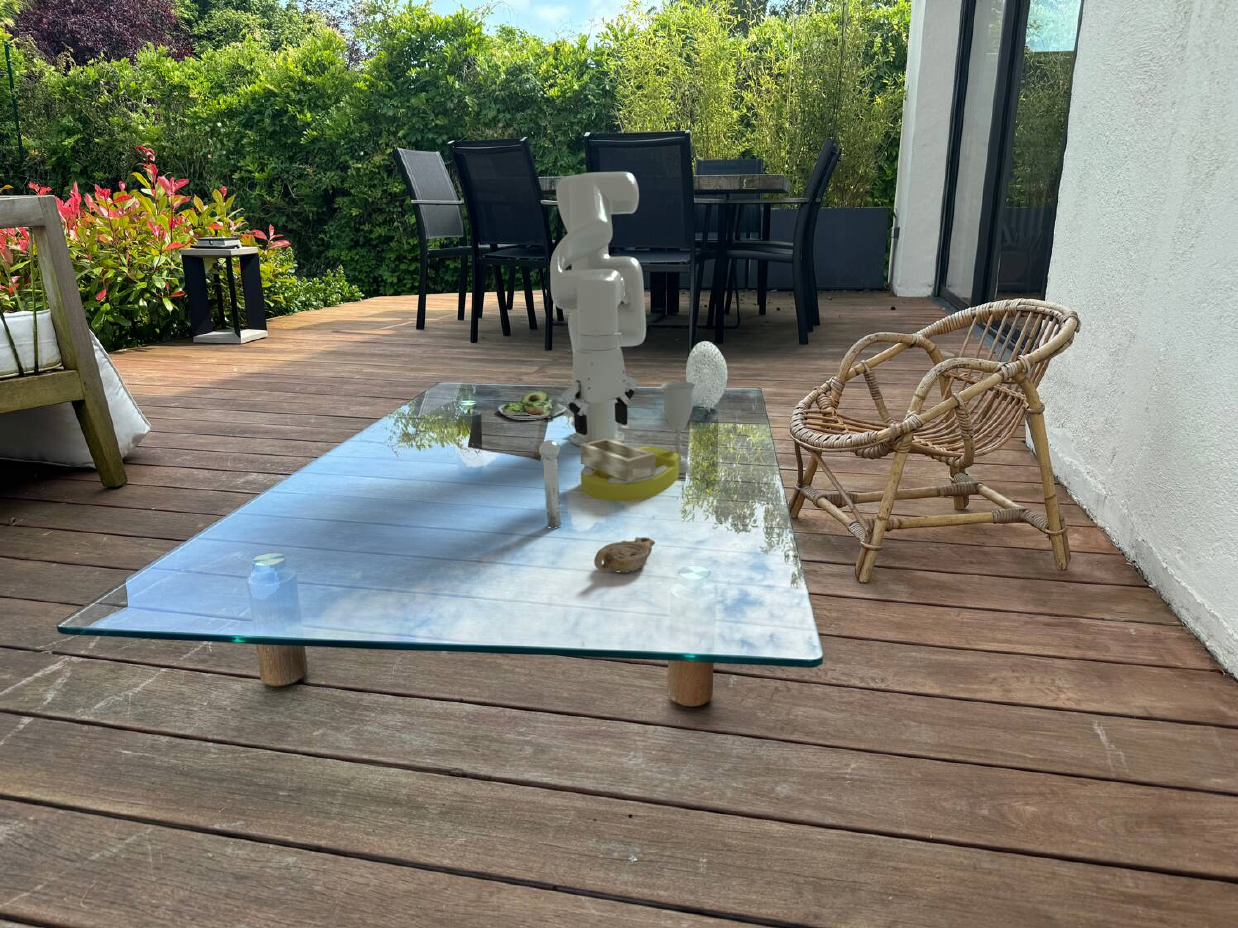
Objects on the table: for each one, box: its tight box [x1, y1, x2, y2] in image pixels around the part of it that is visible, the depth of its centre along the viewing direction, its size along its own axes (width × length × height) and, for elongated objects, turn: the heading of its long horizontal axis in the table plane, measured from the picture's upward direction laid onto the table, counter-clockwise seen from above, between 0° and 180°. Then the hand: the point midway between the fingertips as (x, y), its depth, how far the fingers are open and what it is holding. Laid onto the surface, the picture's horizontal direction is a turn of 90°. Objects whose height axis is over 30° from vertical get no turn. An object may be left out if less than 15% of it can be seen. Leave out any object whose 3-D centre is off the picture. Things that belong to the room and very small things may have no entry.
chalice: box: [660, 381, 695, 474], centre depth 175 cm, size 7×7×18 cm
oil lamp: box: [593, 536, 656, 573], centre depth 132 cm, size 13×8×5 cm, turn 139°
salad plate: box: [497, 390, 567, 419], centre depth 226 cm, size 19×18×5 cm
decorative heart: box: [685, 340, 728, 413], centre depth 224 cm, size 18×11×17 cm, turn 0°
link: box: [579, 438, 656, 482], centre depth 166 cm, size 15×7×4 cm, turn 39°
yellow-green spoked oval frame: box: [580, 446, 680, 503], centre depth 170 cm, size 16×21×5 cm
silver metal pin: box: [538, 439, 562, 528], centre depth 148 cm, size 4×4×16 cm
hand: (601, 428), depth 166 cm, fingers open, 9 cm apart
